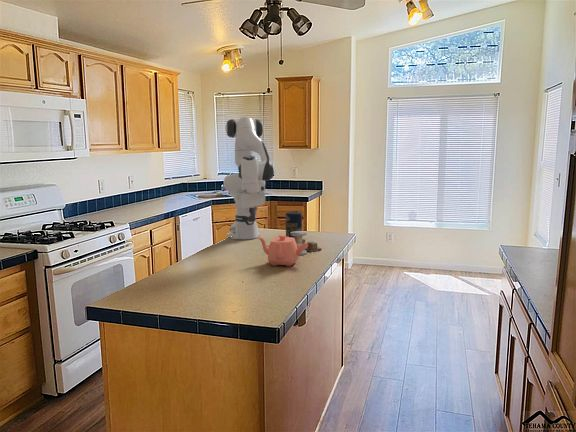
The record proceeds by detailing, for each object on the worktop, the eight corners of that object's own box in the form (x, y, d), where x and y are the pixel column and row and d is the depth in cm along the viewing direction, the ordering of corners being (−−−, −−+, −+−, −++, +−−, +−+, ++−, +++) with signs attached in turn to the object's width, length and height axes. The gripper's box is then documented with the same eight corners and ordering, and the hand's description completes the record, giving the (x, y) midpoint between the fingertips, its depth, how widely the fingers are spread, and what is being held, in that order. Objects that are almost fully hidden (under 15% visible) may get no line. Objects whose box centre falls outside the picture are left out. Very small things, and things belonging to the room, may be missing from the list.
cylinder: (247, 220, 231) (246, 205, 230) (254, 220, 232) (253, 204, 231) (249, 221, 228) (248, 206, 227) (256, 221, 229) (255, 205, 228)
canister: (283, 240, 268) (282, 210, 265) (297, 238, 272) (297, 208, 269) (290, 243, 260) (289, 212, 257) (304, 241, 264) (304, 211, 261)
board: (291, 246, 253) (291, 239, 252) (301, 244, 257) (301, 237, 256) (311, 252, 238) (310, 244, 238) (321, 250, 242) (321, 242, 241)
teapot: (277, 271, 205) (276, 241, 203) (257, 262, 220) (256, 234, 218) (309, 264, 215) (309, 235, 213) (288, 256, 230) (287, 230, 228)
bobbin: (287, 253, 237) (287, 232, 236) (300, 250, 242) (300, 230, 240) (296, 256, 231) (296, 235, 229) (310, 253, 235) (309, 232, 233)
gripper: (242, 191, 217) (243, 219, 219) (267, 186, 234) (267, 213, 236) (232, 190, 220) (233, 218, 223) (257, 186, 237) (258, 212, 240)
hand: (251, 215), depth 230 cm, fingers closed on cylinder, 4 cm apart
